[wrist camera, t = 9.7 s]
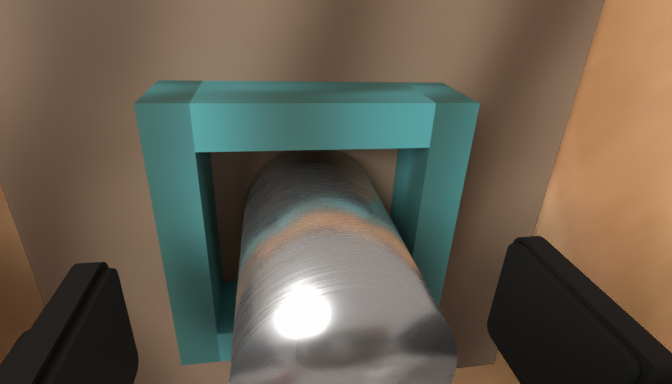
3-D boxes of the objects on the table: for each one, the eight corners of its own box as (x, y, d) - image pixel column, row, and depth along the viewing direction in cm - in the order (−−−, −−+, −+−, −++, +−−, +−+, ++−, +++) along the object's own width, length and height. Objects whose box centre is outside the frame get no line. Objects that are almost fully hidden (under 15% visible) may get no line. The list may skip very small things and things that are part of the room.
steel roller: (378, 144, 13) (477, 281, 7) (367, 255, 15) (438, 438, 9) (240, 145, 13) (219, 299, 6) (248, 262, 15) (236, 465, 8)
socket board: (600, -85, 12) (721, -109, 9) (481, 344, 21) (523, 412, 17) (-81, -142, 10) (-259, -207, 6) (93, 384, 18) (55, 475, 14)
